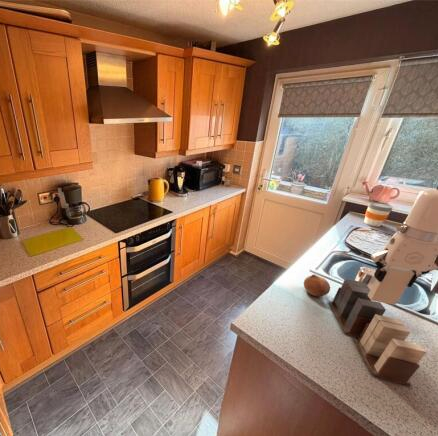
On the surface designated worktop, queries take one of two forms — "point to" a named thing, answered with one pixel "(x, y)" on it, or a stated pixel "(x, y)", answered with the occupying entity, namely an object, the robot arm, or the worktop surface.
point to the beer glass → (366, 276)
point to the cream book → (391, 285)
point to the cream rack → (389, 349)
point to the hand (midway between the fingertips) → (391, 281)
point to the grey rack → (354, 307)
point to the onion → (316, 286)
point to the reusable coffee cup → (377, 213)
